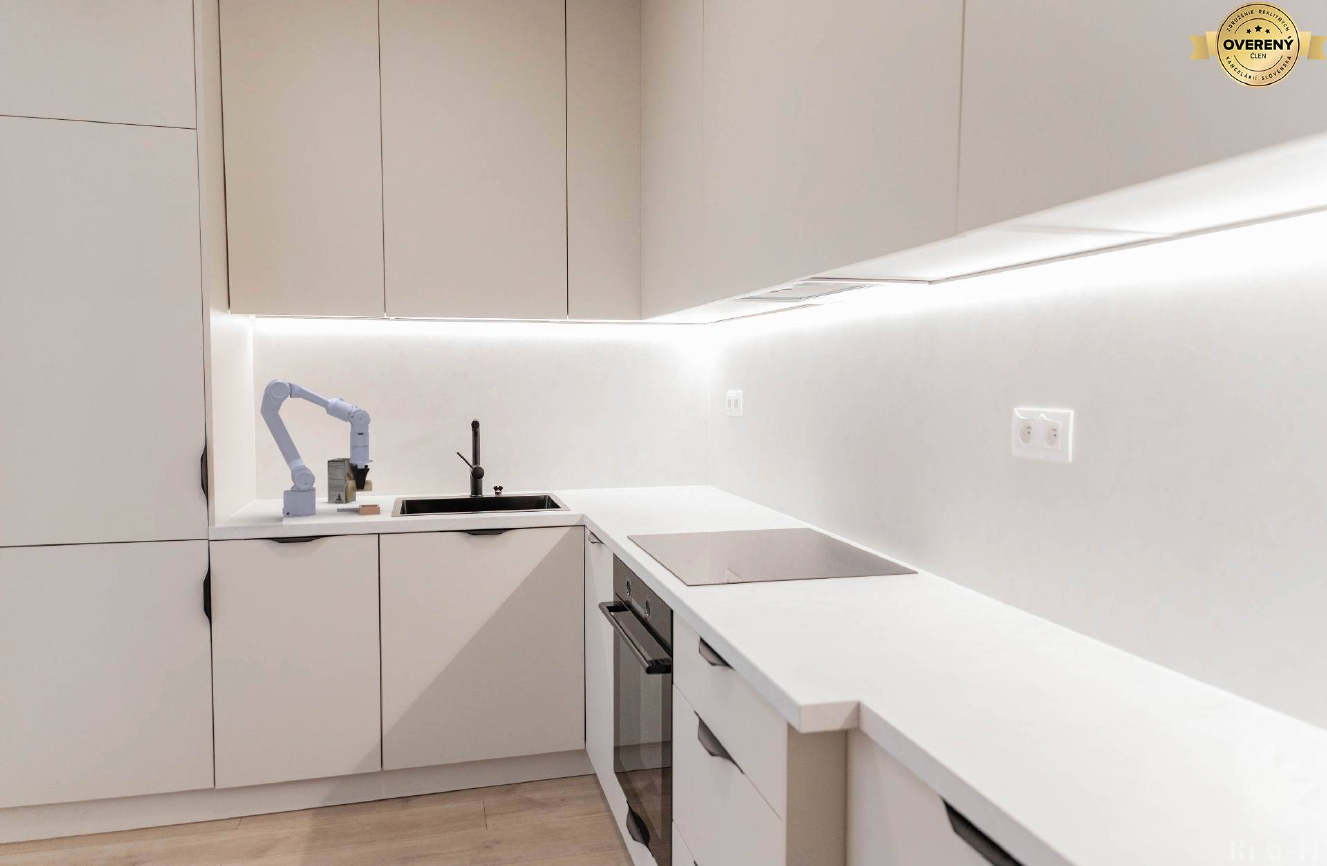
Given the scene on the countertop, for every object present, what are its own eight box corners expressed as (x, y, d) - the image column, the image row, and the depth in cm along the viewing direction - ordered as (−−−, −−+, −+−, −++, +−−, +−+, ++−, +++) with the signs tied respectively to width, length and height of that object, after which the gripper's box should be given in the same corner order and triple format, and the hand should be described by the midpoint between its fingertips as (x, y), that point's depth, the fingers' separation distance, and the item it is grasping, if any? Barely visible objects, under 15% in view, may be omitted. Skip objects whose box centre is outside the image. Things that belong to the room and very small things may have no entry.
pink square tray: (360, 518, 257) (360, 507, 257) (359, 515, 263) (359, 504, 263) (380, 517, 260) (380, 507, 259) (378, 514, 265) (378, 504, 265)
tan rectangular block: (348, 491, 261) (348, 482, 260) (348, 489, 265) (348, 480, 265) (372, 491, 263) (372, 481, 263) (371, 489, 268) (371, 479, 268)
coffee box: (338, 502, 288) (338, 457, 287) (356, 503, 288) (356, 458, 287) (327, 506, 279) (327, 460, 278) (345, 507, 279) (345, 460, 278)
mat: (337, 515, 262) (337, 511, 262) (336, 512, 269) (336, 508, 268) (367, 514, 266) (367, 510, 266) (365, 511, 272) (365, 507, 272)
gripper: (374, 448, 258) (374, 490, 259) (371, 444, 271) (371, 485, 272) (350, 448, 255) (350, 491, 256) (348, 444, 269) (348, 485, 269)
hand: (359, 488), depth 264 cm, fingers closed on tan rectangular block, 5 cm apart
